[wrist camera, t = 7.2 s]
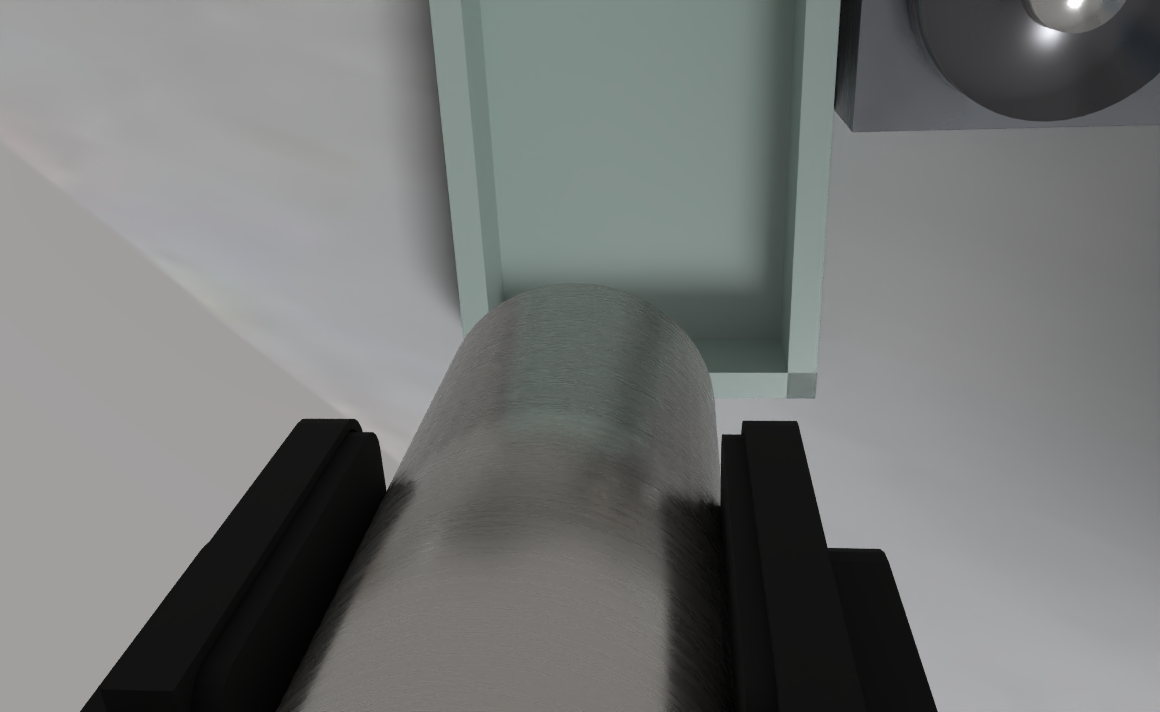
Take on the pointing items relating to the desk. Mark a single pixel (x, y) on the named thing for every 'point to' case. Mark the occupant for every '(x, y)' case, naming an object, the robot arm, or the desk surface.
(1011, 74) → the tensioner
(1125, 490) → the desk surface
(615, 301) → the pin
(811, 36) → the tray
